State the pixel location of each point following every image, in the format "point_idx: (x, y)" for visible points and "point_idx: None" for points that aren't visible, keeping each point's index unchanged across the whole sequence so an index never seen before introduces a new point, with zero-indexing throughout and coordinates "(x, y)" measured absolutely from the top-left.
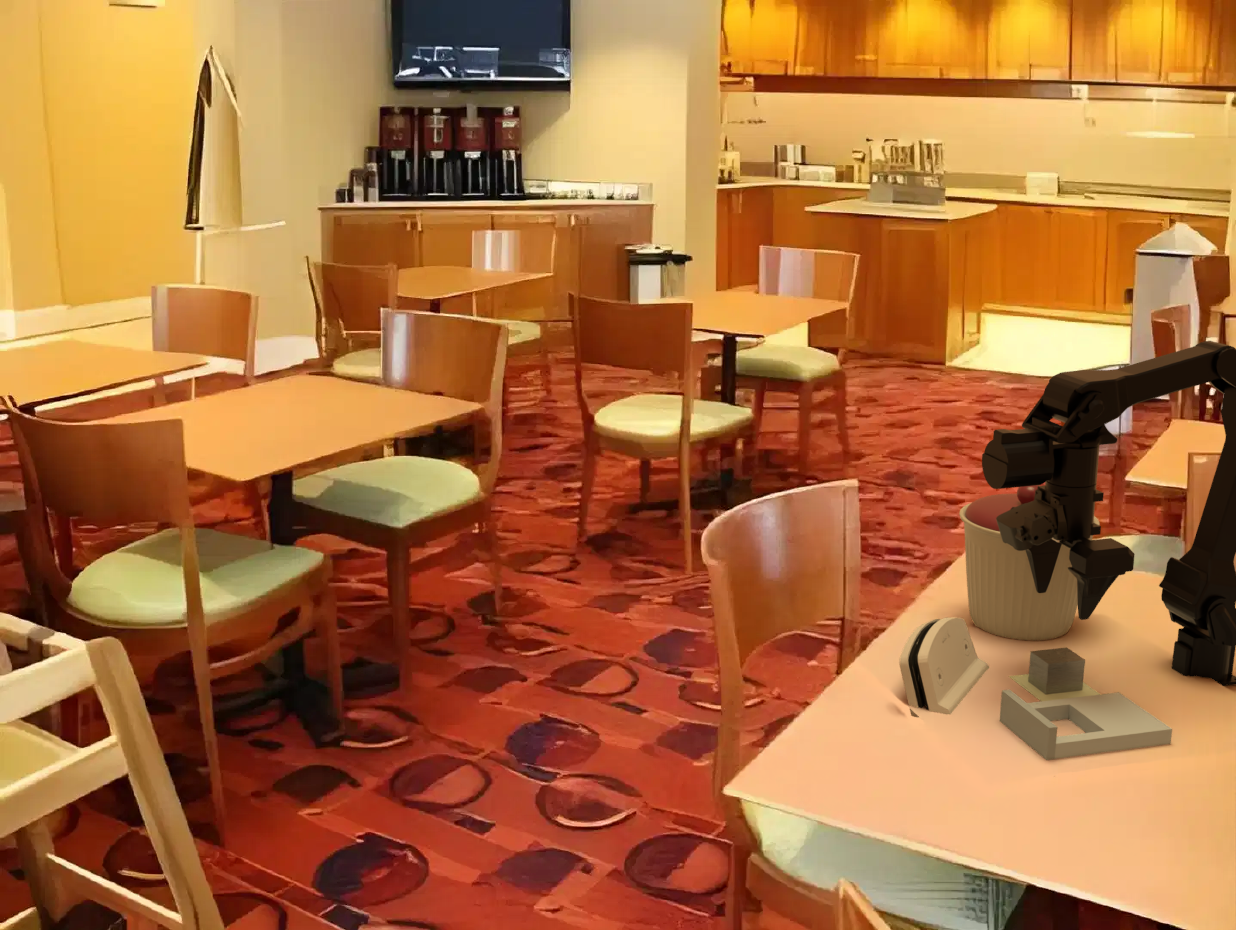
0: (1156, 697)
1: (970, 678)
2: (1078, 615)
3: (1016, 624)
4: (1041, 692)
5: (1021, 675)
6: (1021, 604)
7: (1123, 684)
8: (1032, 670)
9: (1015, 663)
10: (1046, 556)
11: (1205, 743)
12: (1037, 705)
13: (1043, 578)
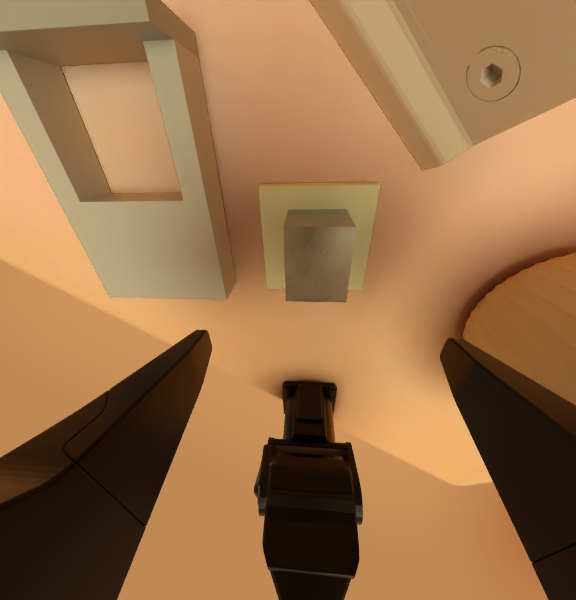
0: (276, 344)
1: (392, 59)
2: (201, 334)
3: (520, 295)
4: (298, 207)
5: (373, 211)
6: (546, 324)
7: (318, 334)
8: (337, 215)
9: (444, 244)
10: (557, 513)
11: (163, 325)
12: (175, 126)
13: (473, 392)
